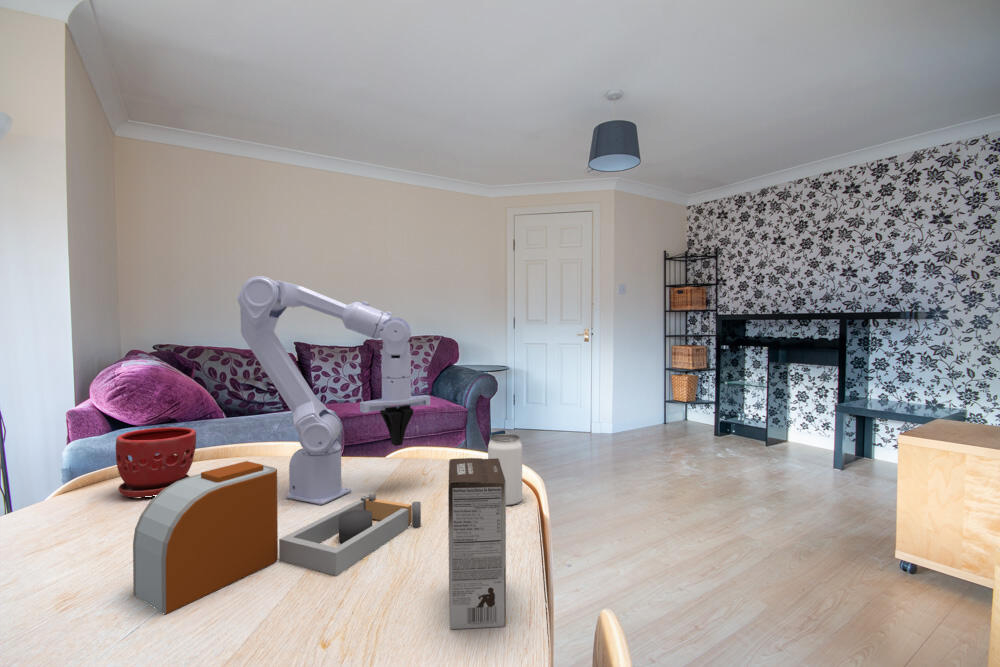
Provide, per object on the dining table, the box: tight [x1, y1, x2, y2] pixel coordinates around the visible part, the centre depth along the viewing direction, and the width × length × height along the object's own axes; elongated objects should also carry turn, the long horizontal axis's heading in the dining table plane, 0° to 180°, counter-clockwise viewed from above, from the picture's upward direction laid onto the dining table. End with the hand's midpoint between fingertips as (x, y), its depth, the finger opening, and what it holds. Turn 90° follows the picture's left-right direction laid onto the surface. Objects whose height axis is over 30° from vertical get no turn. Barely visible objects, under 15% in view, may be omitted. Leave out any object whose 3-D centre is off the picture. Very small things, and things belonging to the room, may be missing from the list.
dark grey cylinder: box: [338, 510, 373, 545], centre depth 72 cm, size 5×5×4 cm
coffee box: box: [447, 457, 507, 630], centre depth 54 cm, size 9×6×16 cm
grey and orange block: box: [132, 460, 279, 615], centre depth 61 cm, size 15×8×14 cm, turn 150°
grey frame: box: [278, 496, 409, 576], centre depth 71 cm, size 10×18×3 cm, turn 156°
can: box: [487, 433, 523, 507], centre depth 87 cm, size 6×6×12 cm
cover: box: [366, 493, 422, 528], centre depth 78 cm, size 10×1×4 cm, turn 69°
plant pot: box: [115, 426, 197, 498], centre depth 93 cm, size 13×13×12 cm
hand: (396, 444), depth 93 cm, fingers closed
